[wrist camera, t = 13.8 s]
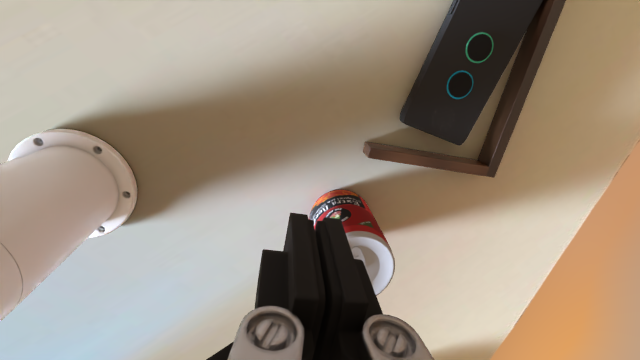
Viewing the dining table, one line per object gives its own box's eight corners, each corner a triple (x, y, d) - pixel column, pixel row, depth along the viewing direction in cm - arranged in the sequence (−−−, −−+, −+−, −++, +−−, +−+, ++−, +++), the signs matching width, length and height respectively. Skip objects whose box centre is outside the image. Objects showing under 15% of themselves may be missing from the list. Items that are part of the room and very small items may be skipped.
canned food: (357, 178, 40) (382, 222, 30) (376, 230, 43) (405, 287, 33) (298, 201, 40) (303, 253, 30) (321, 251, 43) (333, 314, 33)
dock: (362, 151, 39) (367, 157, 36) (431, -129, 29) (444, -145, 27) (482, 170, 41) (494, 177, 39) (580, -82, 32) (603, -92, 30)
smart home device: (400, 122, 36) (499, -84, 30) (395, 119, 38) (488, -77, 31) (463, 147, 38) (568, -42, 32) (456, 143, 39) (554, -37, 33)
